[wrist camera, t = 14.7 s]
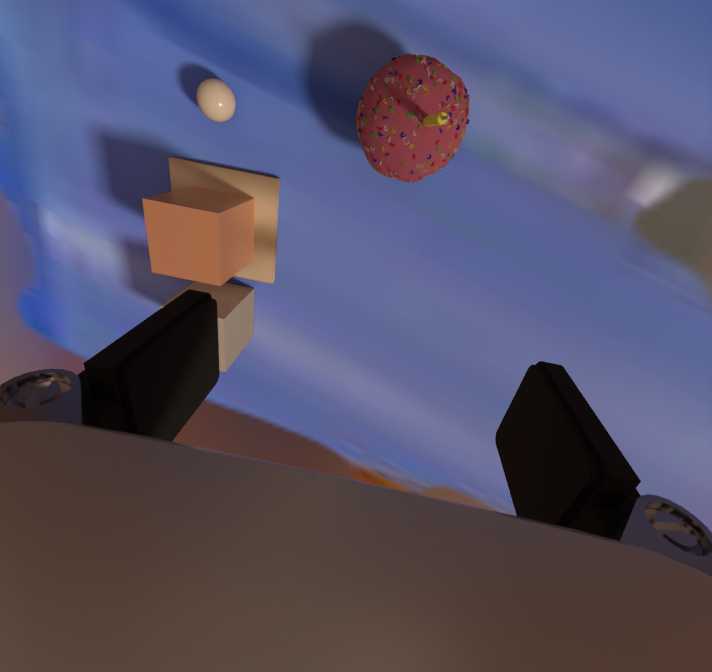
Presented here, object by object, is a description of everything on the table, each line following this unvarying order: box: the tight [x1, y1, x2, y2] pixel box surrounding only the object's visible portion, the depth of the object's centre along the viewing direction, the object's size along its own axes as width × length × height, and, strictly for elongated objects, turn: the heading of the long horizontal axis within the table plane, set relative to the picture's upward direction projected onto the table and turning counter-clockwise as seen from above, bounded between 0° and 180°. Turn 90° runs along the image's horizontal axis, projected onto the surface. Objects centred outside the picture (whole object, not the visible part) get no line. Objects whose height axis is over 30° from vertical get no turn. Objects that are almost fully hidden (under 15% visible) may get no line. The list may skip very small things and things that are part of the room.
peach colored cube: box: [142, 186, 255, 286], centre depth 34 cm, size 6×6×8 cm
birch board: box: [168, 157, 280, 284], centre depth 38 cm, size 11×11×1 cm
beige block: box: [160, 281, 255, 372], centre depth 40 cm, size 6×6×8 cm
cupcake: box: [356, 54, 470, 183], centre depth 27 cm, size 9×8×12 cm
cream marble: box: [197, 78, 236, 122], centre depth 31 cm, size 3×3×3 cm
